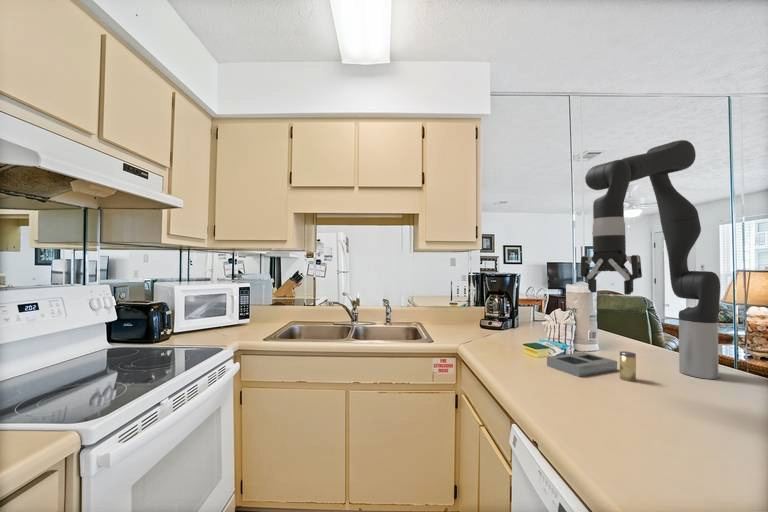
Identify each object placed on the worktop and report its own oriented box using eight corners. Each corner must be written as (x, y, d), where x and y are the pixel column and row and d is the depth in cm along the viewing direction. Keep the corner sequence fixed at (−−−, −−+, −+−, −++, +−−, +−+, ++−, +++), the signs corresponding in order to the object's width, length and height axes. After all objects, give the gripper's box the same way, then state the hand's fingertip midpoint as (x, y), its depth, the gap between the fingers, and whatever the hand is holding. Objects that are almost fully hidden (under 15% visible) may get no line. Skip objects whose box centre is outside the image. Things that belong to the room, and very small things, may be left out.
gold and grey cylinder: (625, 376, 104) (625, 350, 104) (639, 380, 101) (638, 354, 101) (616, 378, 103) (616, 352, 103) (630, 382, 99) (630, 355, 99)
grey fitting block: (583, 360, 122) (583, 352, 122) (617, 370, 110) (617, 361, 111) (546, 365, 115) (546, 357, 115) (579, 376, 104) (579, 367, 104)
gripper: (645, 233, 88) (646, 294, 88) (588, 236, 100) (589, 290, 100) (632, 232, 84) (634, 296, 84) (575, 236, 96) (576, 292, 96)
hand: (609, 293), depth 92 cm, fingers open, 8 cm apart
